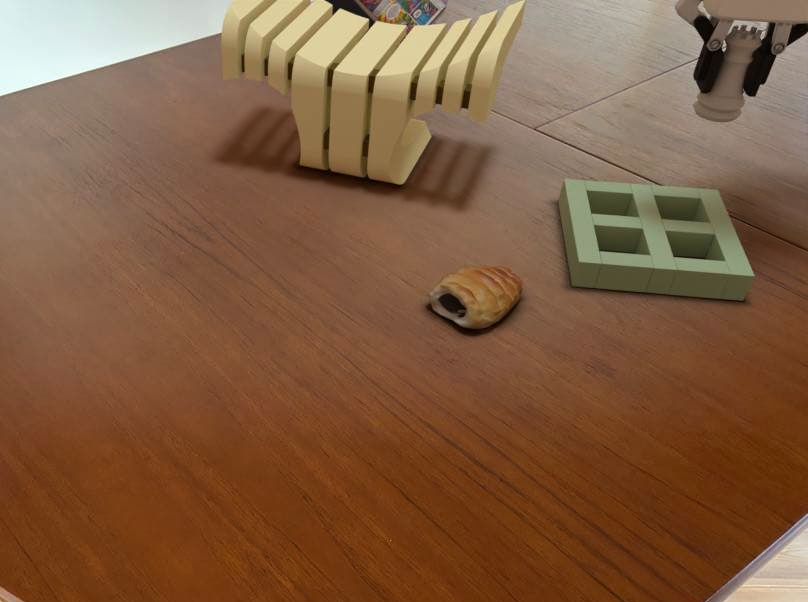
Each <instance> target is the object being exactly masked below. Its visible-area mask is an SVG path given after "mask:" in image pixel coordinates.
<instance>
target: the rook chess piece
mask: <svg viewBox="0 0 808 602" xmlns="http://www.w3.org/2000/svg"><path fill="white" fill-rule="evenodd" d="M747 28H748V24H741V25H737V24H736V25H734V26H733V25H732V27H731V29H730V30H731V31H730V32H728V34H727V36H726V38H725V40H724V42H725V45H726V47H725V50H723V52H724V57H723V60H722V63H721V65H720V68H719V71H718V73H717V76H716V79H715V81H714V84H713V87H712V90H711V92H710V93H708V94H702V93H701V92H700V91H699V93H698V94H697V96H696V98H697V100H696V101H694V103H693V104H692V107H693V110H694V112H695V114H696V115H697V116H698V117H699V118H701V119H703V120H705V121H710V122H714V123H731V122H734V121H735V120H737V119H738V118H740V117H741V115H742V114H743V112H742V110H741V109H742V108H744V106H745V104H746V99H745V97H744V93H745V91H744V90H743V83H744V79H745V75H746V70H747V68H748V65H749V63H750V62H752V61H753V57H752V54H753V51H754V50H756V49H757V48H758V47H760V46H761V45H762V37H761V36H762V33H763V31H762V30H761V29H758V26H757V27H756V26H755V25H752V26H751V27H750V30H747Z"/></svg>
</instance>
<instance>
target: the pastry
mask: <svg viewBox="0 0 808 602" xmlns="http://www.w3.org/2000/svg"><path fill="white" fill-rule="evenodd" d="M523 289H524V286H523V280H522V279H521V278H520V276H518V275H517V274H516V273H515V272H513V271H512V269H511V268H510V267H505V266H502V265H491V266H488V265H483V266H475V265H471V266H470V267H469V268H467V267H462V268H460V269H458V270H457V271H456V273H448V274H446V275H445V276H444V277H443V278H441V280H440V282H439V283H438V285H436V286H435V288H433V290H432V291H430V292H429V293H428V302H429V303H430V304H431V308H432V310H433V311H434V312H435V313H437V314H439V315H440V316H442V317H444V318H446V319H447V320H451V321H453V322H454V323H456V324H457V325H458V326H459V327H461V328H466V329H473V330H481V329H485V328H489V327H490V326H491V325H493V324H495V323H498V322H499V321H500V320H502V319H503V318H504V317H505V316H506V315H507V314H508V313H509V312H510V311H511V309H512V308H513V307H514V306H515V304H517V302H518V301H519V299H520V297H521V294H522V292H523V291H524V290H523Z"/></svg>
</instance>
